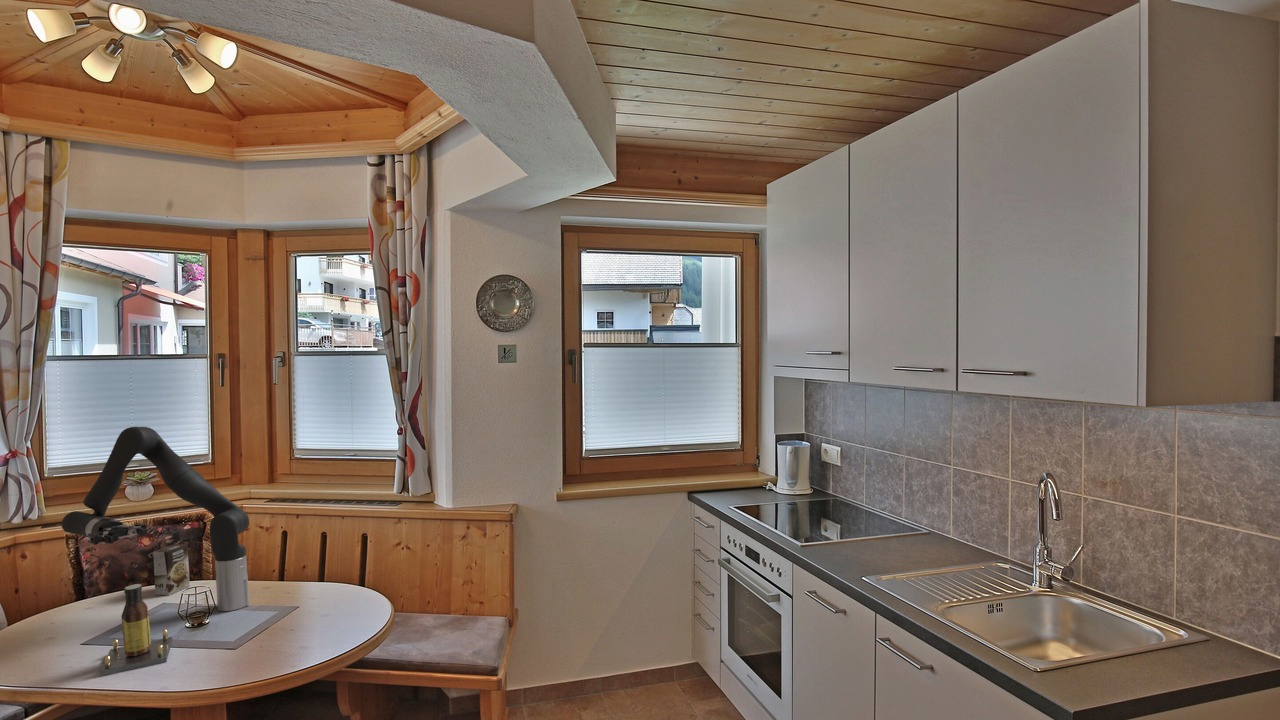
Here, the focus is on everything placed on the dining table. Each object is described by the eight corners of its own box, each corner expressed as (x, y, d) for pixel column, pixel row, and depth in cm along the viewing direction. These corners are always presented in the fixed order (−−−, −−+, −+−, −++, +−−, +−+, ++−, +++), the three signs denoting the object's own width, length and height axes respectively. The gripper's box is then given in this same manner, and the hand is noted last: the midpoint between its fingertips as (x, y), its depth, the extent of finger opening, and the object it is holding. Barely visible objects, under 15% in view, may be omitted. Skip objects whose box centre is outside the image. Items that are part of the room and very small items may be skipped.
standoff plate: (172, 641, 207) (171, 627, 207) (166, 661, 194) (165, 646, 194) (110, 654, 200) (109, 639, 200) (100, 676, 187) (99, 660, 186)
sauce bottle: (133, 648, 200) (130, 582, 199) (156, 646, 200) (152, 581, 200) (118, 658, 193) (114, 590, 193) (141, 657, 194) (137, 589, 193)
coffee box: (169, 595, 245) (166, 551, 244) (154, 594, 246) (152, 551, 245) (190, 586, 254) (188, 544, 253) (176, 585, 255) (174, 543, 254)
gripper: (76, 524, 211) (100, 530, 203) (129, 512, 223) (153, 518, 215) (78, 547, 211) (101, 555, 203) (131, 535, 224) (155, 541, 215)
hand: (128, 536), depth 209 cm, fingers open, 8 cm apart
